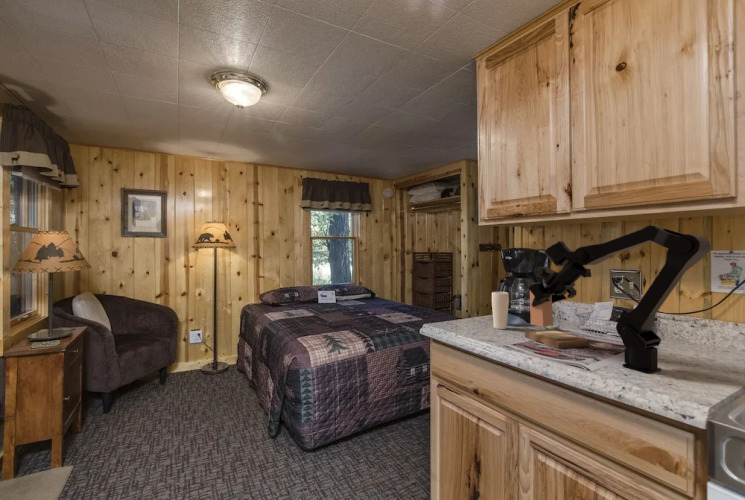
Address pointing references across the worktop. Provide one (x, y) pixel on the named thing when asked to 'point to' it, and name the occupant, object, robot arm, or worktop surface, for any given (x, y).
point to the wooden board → (557, 338)
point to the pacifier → (553, 326)
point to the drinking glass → (500, 309)
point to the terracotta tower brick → (541, 313)
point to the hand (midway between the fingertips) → (537, 305)
